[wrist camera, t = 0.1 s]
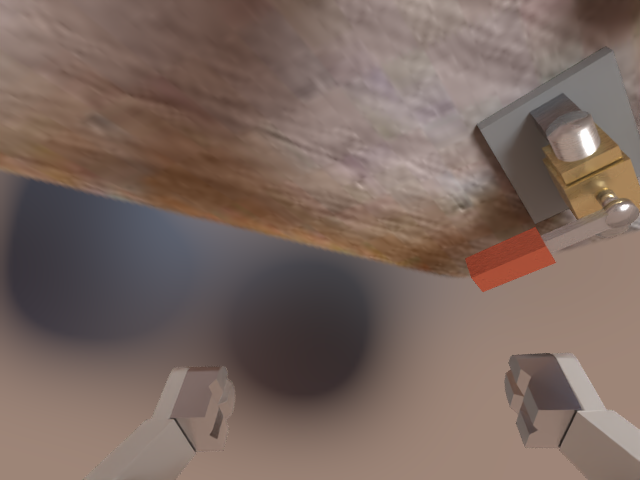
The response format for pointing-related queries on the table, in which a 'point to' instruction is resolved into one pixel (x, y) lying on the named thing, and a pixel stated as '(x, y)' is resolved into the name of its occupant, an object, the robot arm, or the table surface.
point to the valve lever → (543, 245)
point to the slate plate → (527, 141)
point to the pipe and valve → (584, 160)
